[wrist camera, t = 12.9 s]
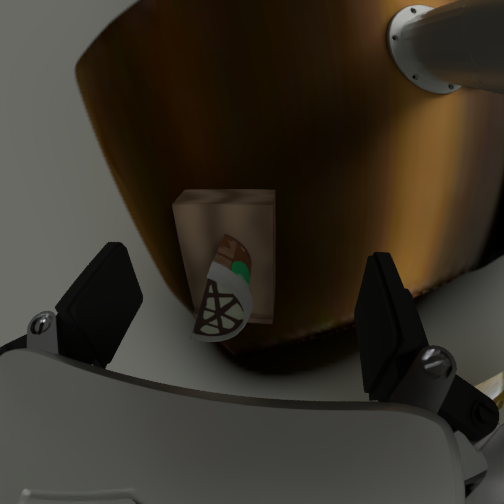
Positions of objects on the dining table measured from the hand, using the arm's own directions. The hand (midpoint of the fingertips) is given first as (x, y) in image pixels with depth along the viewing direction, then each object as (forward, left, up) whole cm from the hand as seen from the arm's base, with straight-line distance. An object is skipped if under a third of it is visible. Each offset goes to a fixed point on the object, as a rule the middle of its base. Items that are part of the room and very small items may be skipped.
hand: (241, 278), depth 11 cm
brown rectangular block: (+7, +18, -28) cm, 34 cm away
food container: (+6, +18, -24) cm, 30 cm away
